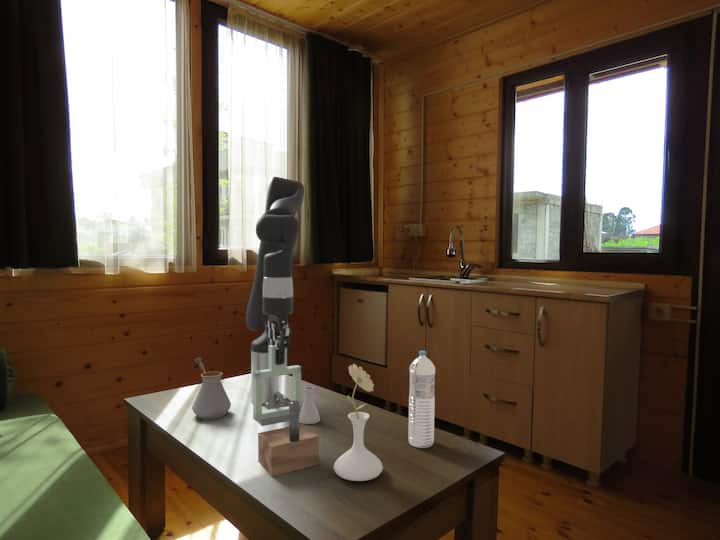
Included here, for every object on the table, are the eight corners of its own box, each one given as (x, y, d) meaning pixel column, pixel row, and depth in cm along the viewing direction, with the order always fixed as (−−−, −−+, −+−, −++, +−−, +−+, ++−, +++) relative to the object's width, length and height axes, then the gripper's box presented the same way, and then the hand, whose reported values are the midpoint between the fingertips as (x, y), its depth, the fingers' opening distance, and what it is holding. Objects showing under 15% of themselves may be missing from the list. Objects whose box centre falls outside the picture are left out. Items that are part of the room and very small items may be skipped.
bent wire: (260, 414, 126) (260, 381, 126) (269, 412, 128) (269, 380, 127) (291, 442, 109) (291, 404, 108) (301, 440, 110) (301, 402, 109)
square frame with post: (251, 420, 118) (251, 345, 117) (295, 412, 124) (295, 341, 123) (258, 427, 114) (258, 349, 113) (303, 418, 120) (303, 344, 119)
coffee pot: (236, 417, 143) (236, 368, 142) (197, 424, 137) (197, 374, 136) (215, 397, 161) (215, 354, 160) (180, 403, 154) (180, 359, 154)
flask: (316, 426, 137) (317, 392, 136) (293, 424, 138) (293, 390, 138) (323, 417, 144) (323, 385, 143) (301, 415, 145) (301, 383, 145)
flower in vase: (389, 482, 105) (391, 372, 103) (340, 489, 101) (341, 376, 100) (371, 457, 117) (372, 358, 116) (327, 462, 114) (327, 361, 112)
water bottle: (418, 436, 130) (420, 347, 129) (439, 443, 125) (440, 351, 124) (403, 443, 125) (404, 351, 124) (423, 451, 121) (425, 355, 119)
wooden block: (258, 461, 114) (258, 432, 114) (303, 450, 121) (303, 423, 120) (271, 476, 107) (271, 446, 106) (318, 464, 113) (318, 436, 112)
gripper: (254, 292, 121) (254, 358, 122) (273, 298, 110) (273, 371, 110) (281, 291, 125) (281, 355, 126) (303, 296, 113) (302, 367, 114)
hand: (277, 362), depth 118 cm, fingers closed on square frame with post, 2 cm apart
